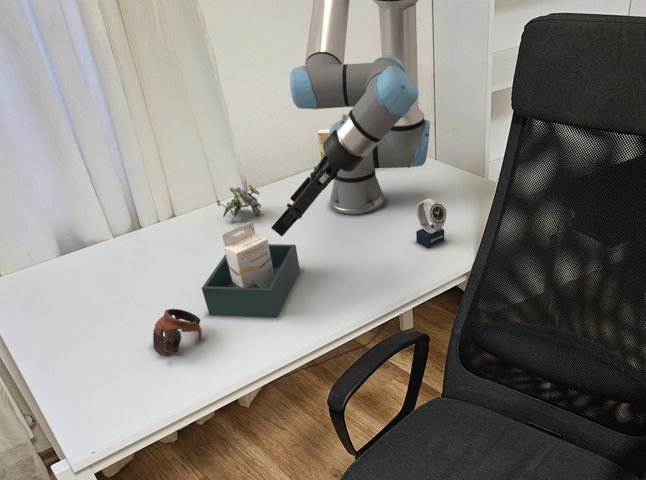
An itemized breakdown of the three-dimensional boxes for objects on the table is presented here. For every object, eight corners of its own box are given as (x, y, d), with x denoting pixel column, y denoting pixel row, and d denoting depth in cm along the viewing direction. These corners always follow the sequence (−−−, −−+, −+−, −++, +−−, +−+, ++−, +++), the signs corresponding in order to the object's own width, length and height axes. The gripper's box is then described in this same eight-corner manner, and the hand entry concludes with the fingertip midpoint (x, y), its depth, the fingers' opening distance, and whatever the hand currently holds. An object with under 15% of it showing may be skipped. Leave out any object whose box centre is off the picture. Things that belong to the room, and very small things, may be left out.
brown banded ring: (153, 338, 125) (161, 302, 122) (197, 349, 128) (207, 314, 125) (144, 360, 114) (153, 321, 112) (193, 371, 117) (203, 334, 114)
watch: (433, 251, 144) (432, 209, 137) (411, 240, 149) (410, 199, 143) (449, 243, 147) (450, 202, 140) (428, 232, 152) (428, 192, 145)
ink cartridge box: (247, 299, 131) (232, 241, 122) (234, 292, 134) (219, 234, 125) (277, 283, 136) (265, 225, 127) (264, 276, 139) (252, 219, 129)
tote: (239, 268, 144) (232, 243, 140) (300, 270, 142) (295, 244, 137) (209, 314, 130) (201, 288, 125) (276, 317, 127) (271, 290, 122)
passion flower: (261, 232, 171) (271, 207, 161) (225, 238, 165) (234, 212, 155) (246, 201, 174) (256, 174, 164) (211, 205, 168) (219, 178, 158)
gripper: (348, 108, 118) (288, 179, 130) (319, 154, 99) (252, 232, 111) (375, 134, 121) (315, 202, 133) (352, 184, 102) (283, 257, 114)
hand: (286, 216), depth 122 cm, fingers open, 13 cm apart
